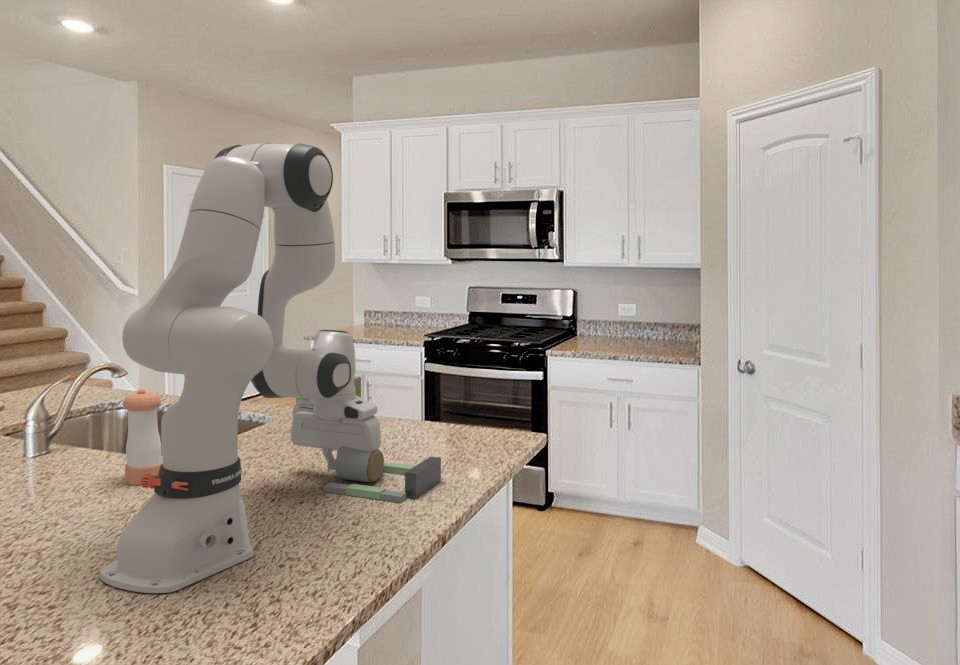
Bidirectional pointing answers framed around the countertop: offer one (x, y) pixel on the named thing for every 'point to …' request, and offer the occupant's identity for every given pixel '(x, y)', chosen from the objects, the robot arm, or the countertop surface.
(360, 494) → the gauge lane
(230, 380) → the robot arm
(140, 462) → the pepper shaker
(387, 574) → the countertop surface
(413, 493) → the dark grey rectangular block
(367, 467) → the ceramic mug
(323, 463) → the countertop surface
